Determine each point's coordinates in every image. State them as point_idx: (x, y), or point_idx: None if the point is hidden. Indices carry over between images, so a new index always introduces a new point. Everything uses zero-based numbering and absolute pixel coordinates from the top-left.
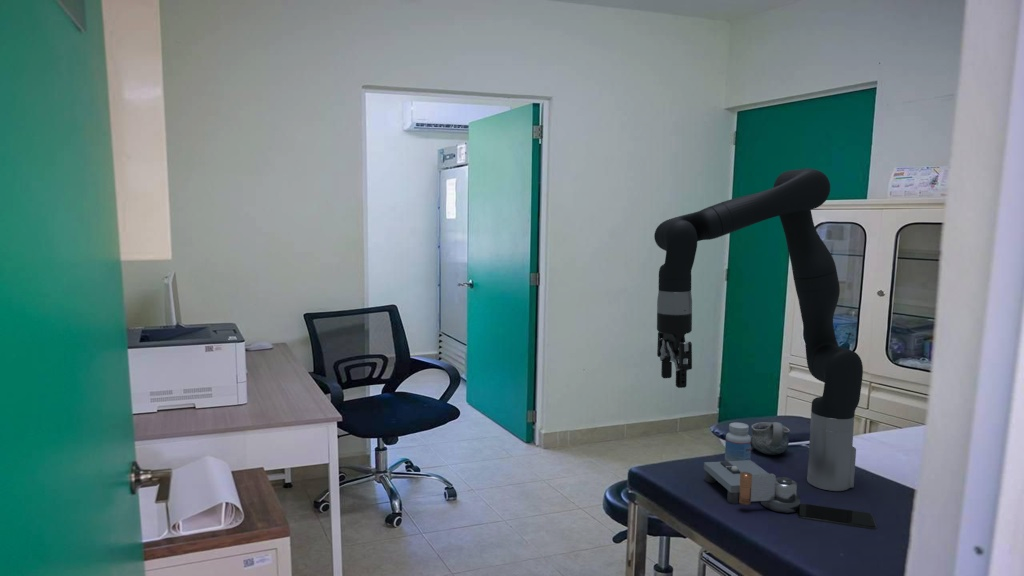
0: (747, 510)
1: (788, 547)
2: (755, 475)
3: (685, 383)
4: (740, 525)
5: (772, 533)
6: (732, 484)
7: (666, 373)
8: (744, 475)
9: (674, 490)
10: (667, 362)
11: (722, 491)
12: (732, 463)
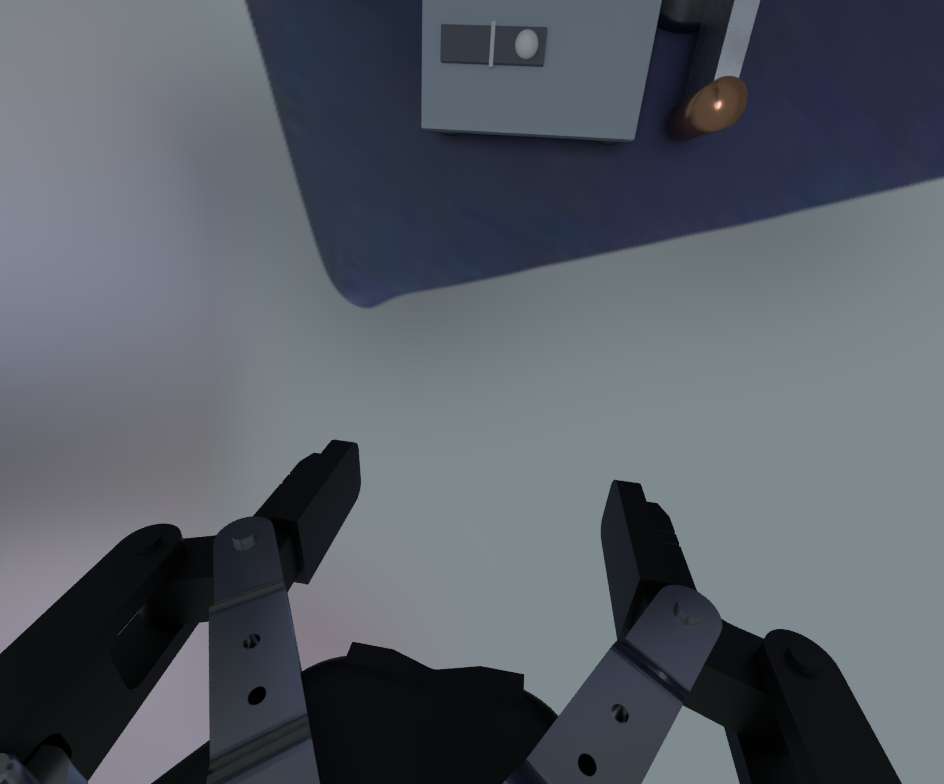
0: None
1: (936, 126)
2: (731, 54)
3: (667, 520)
4: (753, 195)
5: (842, 122)
6: (627, 128)
7: (345, 490)
8: (731, 120)
9: (494, 267)
10: (303, 552)
11: None
12: (446, 2)
